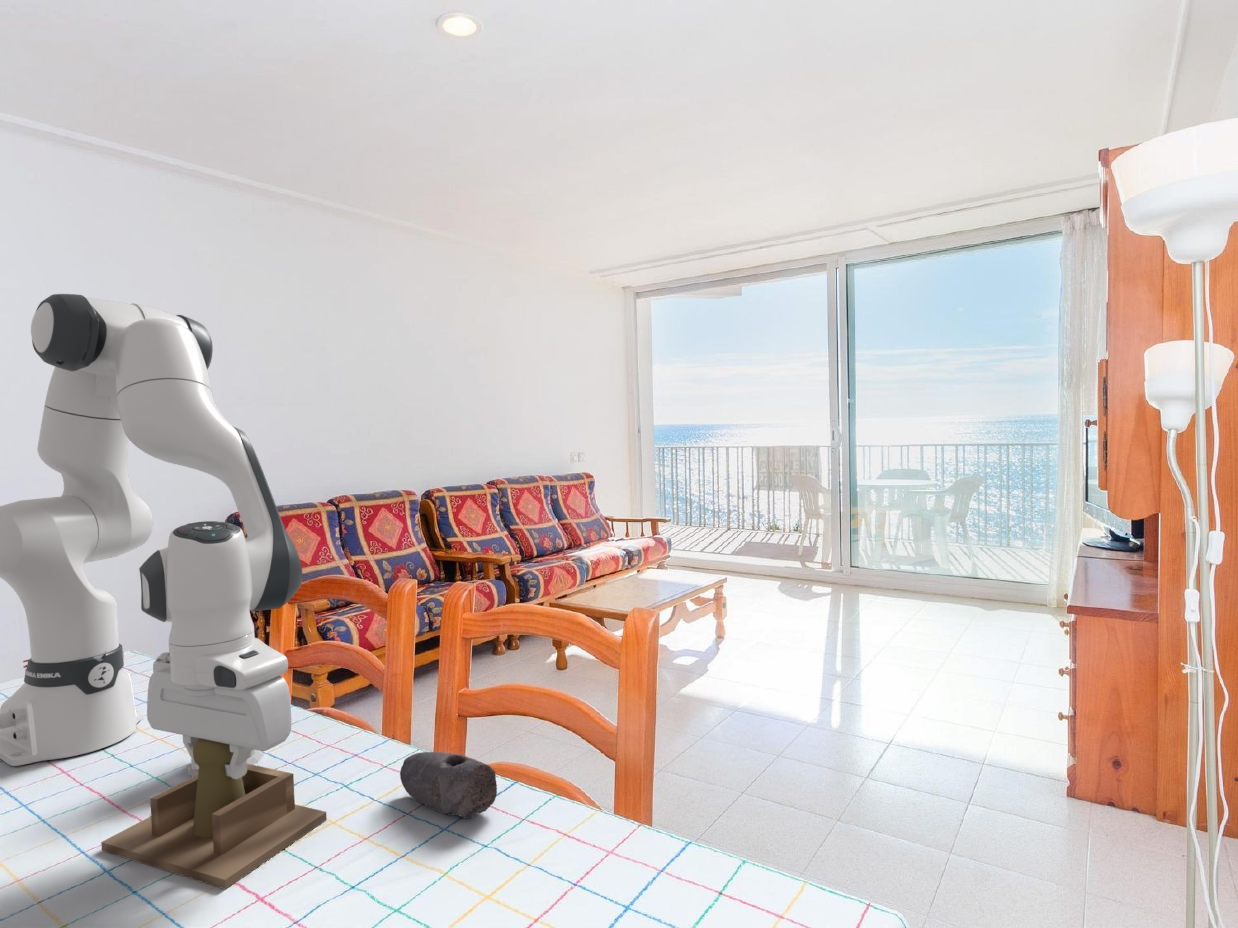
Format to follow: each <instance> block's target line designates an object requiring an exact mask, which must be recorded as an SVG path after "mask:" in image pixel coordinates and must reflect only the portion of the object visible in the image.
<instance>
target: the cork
mask: <svg viewBox="0 0 1238 928" xmlns="http://www.w3.org/2000/svg"><path fill="white" fill-rule="evenodd" d="M233 753H234V752H230V744H225V743H220V742H215V741H210V740H205V739H200V738H199V739H198V740H197V741H196V743H195V745H194V748H193V758H194V761H195V763H196V764H197V765H198V766H199V772H198V782H197V792H196V803H195V813H194V823H193V834H194V835H195V836H197V837H201V838H212V837H213V827H212V814H213V813H214V812H216V811H218V810H220V809H222V808H223V807H225V806H227V805H229V804H230V803H232V802H234V801H236V800H237V799H239V798H241V797H243V796H245V790H244V785H243V780H242V777H241V778H239V779H232V778H228V777H226V776H225V773H226V771H225V764H226V763H229V762H231V759H232V756H233Z"/></svg>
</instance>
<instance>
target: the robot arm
mask: <svg viewBox="0 0 1238 928" xmlns="http://www.w3.org/2000/svg"><path fill="white" fill-rule="evenodd" d="M30 325H31V326H30V335H31V342H32V347H33V349H34V351H35V353H36V354H37V356H38V357H40V360H42V361H43V362H44V363H45V364H48V365H51V367H54V369H53V371H52V375H51V378H50V379H49V380H50V381H49V384H48V389H47V392H46V397H45V402H44V407H43V412H42V417H41V418H42V419H41V424H40V430H39V436H38V443H37V453H38V456H39V458H40V460H41V461H42V462H43V463H44V464H45V465H47V466H48V467H49V468H50V469H52V470H54V471H55V472H58V473H59V474H61V477H62V480H63V491H62V494H61V496H54V497H53V496H52V497H44V498H43V497H42V498H34V499H33V498H32V499H31V498H30V499H24V500H23V499H22V500H18V501H17V500H16V501H13V502H10V503H7V504H3V505H0V579H2V580H3V581H5V582H6V583H7V584H8V586H10V587H11V588H12V589H13V590H14V592H15V593H16V595H17V596H18V598H19V599H20V601H21V604H22V606H23V608H24V611H25V614H26V615H25V616H26V621H27V629H28V637H29V646H30V647H29V648H30V658H29V659H24V660H23V661H22V663H27V664H26V665H23V667H22V668H23V669H24V668H25V669H24V679H23V682H24V683H23V684H22V685H21V686H20V687H19V688H18V689H17V690H16V691H15V692H14V693H13V694H12V695H11V696H9V697H8V699H6V700H5V701H4V702H3V703H2V704H1V705H0V760H2V761H3V762H5V763H7V765H9V766H10V767H11V766H12V767H18V766H24V765H27V764H32V763H38V762H42V761H48V760H49V761H50V760H59V759H64V758H70V757H76V756H79V755H80V756H81V755H83V754H88V753H91V752H95V751H98V750H101V749H104V748H106V747H109V746H111V745H114V744H117V743H118V742H120V741H123V740H124V739H126V738H128V737H129V736H131V735H132V734H133V733H134V732H135V731H136V729H137V724H138V722H140V721H141V720H142V719H143V718H144V716H143V712H142V711H140V710H137V709H136V704H135V698H134V691H133V685H132V680H131V678H132V677H131V675H130V674H129V673H128V672H127V671H125V670H123V667H124V665H125V664H124V663H125V661H124V658H125V655H124V653H125V652H124V651H123V650H124V649H123V645H122V644H121V643H120V640H119V639H120V637H119V635H120V634H119V620H118V604H117V600H116V599H115V597H114V596H113V595H112V594H111V593H110V592H108V591H106V590H104V589H102V588H98V587H97V586H93V585H92V584H91V583H90V581H89V579H88V577H87V575H86V572H85V567H84V564H87V563H92V562H96V561H101V560H102V561H103V560H106V559H111V558H116V557H119V556H121V555H124V554H126V553H128V552H131V551H133V550H135V549H137V548H139V547H141V546H143V545H145V544H146V542H148V540H149V539H150V538H151V534H152V532H153V526H154V519H153V518H154V517H153V514H152V511H151V509H150V507H149V506H148V504H147V503H146V502H145V501H144V500H143V499H142V498H141V497H139V495H137V494H136V492H135V490H134V489H133V486H132V485H131V479H130V476H129V472H128V471H129V470H128V456H129V455H128V453H129V447H130V442H131V444H133V446H135V447H137V448H138V449H139V450H140V451H142V452H144V453H145V454H147V455H148V456H151V457H153V458H155V459H156V460H159V461H163V462H166V463H168V464H173V465H178V466H182V467H186V468H189V469H193V470H196V471H199V472H203V473H206V474H208V475H211V476H212V477H214V478H217V479H218V480H219V481H221V482H222V483H224V485H226V487H227V488H228V489H229V491H230V493H231V495H232V496H231V497H232V498H233V500H234V504H235V506H236V508H237V509H236V510H238V511H237V512H238V514H239V516H240V519H241V522H242V524H243V527H244V530H245V534H246V536H247V537H245V534H244V531H243V529H242V528H241V527H240V526H238V525H236V524H233V523H230V522H225V521H223V522H222V521H218V520H216V521H215V520H211V521H210V520H209V521H207V520H205V521H195V522H191V523H187V524H184V525H180V526H177V527H176V528H175V529H172V531H171V532H170V533H169V536H168V543H167V547H165V548H162V549H157V550H156V551H155V552H153V553H152V554H151V555H150V556H149V557H148V558H147V559H146V560H145V561H144V562H143V563H142V565H141V566H140V567H139V568H138V569H139V576H140V588H141V590H140V591H141V592H140V593H141V596H140V598H141V599H140V603H141V604H140V608H141V611H142V613H143V612H144V613H145V614H146V615H148V616H150V617H152V618H154V619H156V620H158V621H160V622H162V623H168V622H169V623H171V626H170V632H169V637H168V651H167V652H162V653H161V654H160V655H158V657H157V658H156V659H155V660H154V662H153V664H152V669H153V670H152V674H151V675H150V676H149V679H148V680H149V681H148V688H147V698H146V699H147V700H146V701H147V702H146V718H147V722H148V724H149V726H150V727H151V728H152V729H153V730H157V731H161V732H167V733H171V734H176V735H182V743H183V746H184V747H185V749H186V750H187V753H188V755H189V757H190V760H191V761H190V763H192V769H193V770H196V771H199V766H198V765H197V764H196V763H195V761H194V758H193V748H194V745H195V743H196V741H197V740H198V739H199V738H200V739H205V740H210V741H215V742H220V743H225V744H230V752H234V753H233V756H232V759H231V762H229V763H226V764H225V771H226V773H225V776H226V777H228V778H232V779H239V778H241V777H242V776H244V775H245V774H246V773H247V759H248V757H249V755H250V753H251V751H252V749H254V750H259V751H262V752H266V751H269V750H270V749H272V748H275V747H277V746H279V745H280V744H282V743H284V742H285V741H286V740H287V739H288V737H289V736H290V734H291V731H292V725H293V724H292V705H291V704H292V703H291V694H290V687H289V685H288V683H287V681H286V679H285V678H284V677H283V676H281V675H283V674H285V673H287V672H288V669H289V661H288V658H287V657H286V656H285V654H284V653H282V652H279V651H277V650H276V649H273V648H272V647H270V646H269V645H267V644H266V643H264V642H263V641H262V640H261V639H259V638H258V637H255V625H254V622H253V620H252V616H251V613H250V612H251V611H252V612H254V611H255V612H257V611H266V610H278V609H280V608H282V607H283V606H285V605H286V604H287V603H288V602H289V601H290V600H291V599H292V598H293V597H294V596H295V594H296V593H297V592H298V591H299V589H300V588H301V586H302V584H303V567H302V563H301V559H300V555H299V552H298V550H297V548H296V547H295V545H294V543H293V541H292V539H291V537H290V535H289V533H288V532H287V530H286V528H285V525H284V522H283V521H282V518H281V515H280V512H279V510H278V507H277V504H276V502H275V499H274V497H273V494H272V491H271V489H270V487H269V484H268V480H267V479H266V475H265V474H264V471H263V469H262V466H261V463H260V460H259V458H258V456H257V454H256V451H255V449H254V447H253V445H252V443H251V441H250V439H249V437H248V436H247V435H246V433H245V432H244V431H243V430H241V429H240V428H237V427H235V426H233V425H232V424H231V423H230V422H229V421H228V420H227V418H225V417H224V415H223V414H222V413H221V411H220V409H219V408H218V406H217V404H216V402H215V399H214V395H213V390H212V383H211V379H210V375H209V371H208V369H209V367H210V365H211V363H212V358H213V350H214V349H213V340H212V338H211V335H210V333H209V331H208V329H207V328H206V327H205V325H203V324H202V323H201V322H199V321H197V320H194V318H193V319H192V318H191V317H187V316H184V315H183V314H176V315H175V314H172V313H169V312H166V311H164V310H160V309H157V308H153V307H149V306H145V305H143V304H137V303H127V302H121V301H115V300H110V299H102V298H101V299H100V298H99V299H98V298H91V297H88V298H87V297H85V296H84V295H82V294H74V293H54V294H51V295H49V296H47V298H44V299H43V300H42V301H41V302H40V303H39V304H38V305H37V307H36V310H35V312H34V314H33V317H32V321H31V324H30Z"/></svg>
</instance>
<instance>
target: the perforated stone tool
mask: <svg viewBox="0 0 1238 928" xmlns="http://www.w3.org/2000/svg"><path fill="white" fill-rule="evenodd" d="M399 772H400V773H399V778H400V781H401V784H402V786H403V788H404V790H405V791H406V793H407V794H408V795H409V796H410V797H411V798H412V799H413V800H415V801H416V802H417V803H420V804H422V805H426V807H428V808H430V809H432V810H434V811H437V812H439V813H441V814H444V815H447V816H453V815H456V816H460V817H461V818H462V819H466V820H467V819H471V818H472V817H474V816H475V815H477V814H481V813H484V812H486V811H487V810H488V809H489V808H490V807H491V806H492V805H493V804H494V803H495V800H496V798H497V793H498V791H497V790H498V788H497V787H498V785H497V779H496V771H495V770H494V768H492V766H490V765H489V764H486V763H484V762H482V761H479V760H476V759H475V758H471V757H469V756H465V755H462V754H456V753H450V752H441V751H423V752H417V753H414V754H411V755H409V756H408V757H406V758H405V759H404V760H403V763H402V766H401V768H400V771H399Z"/></svg>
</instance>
